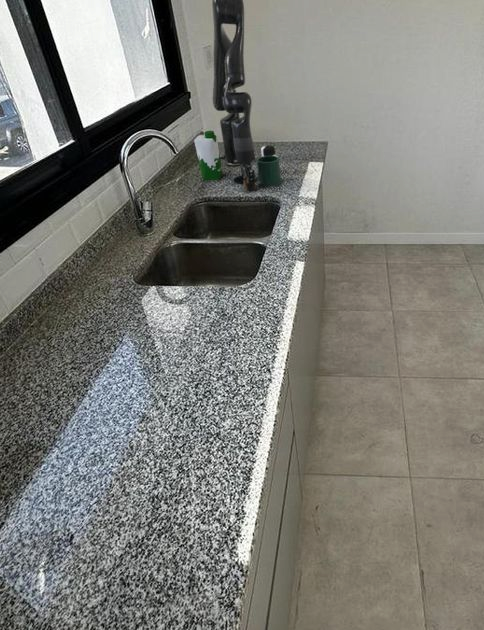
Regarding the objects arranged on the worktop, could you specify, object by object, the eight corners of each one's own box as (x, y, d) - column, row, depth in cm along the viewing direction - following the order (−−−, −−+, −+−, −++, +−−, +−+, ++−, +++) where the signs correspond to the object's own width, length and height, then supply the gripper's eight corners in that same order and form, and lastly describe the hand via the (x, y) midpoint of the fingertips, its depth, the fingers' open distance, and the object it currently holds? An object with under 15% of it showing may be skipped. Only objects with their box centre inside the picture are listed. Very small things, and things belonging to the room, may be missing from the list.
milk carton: (220, 181, 193) (211, 134, 181) (200, 182, 194) (190, 135, 182) (225, 175, 200) (217, 129, 188) (205, 175, 201) (196, 129, 189)
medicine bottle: (279, 171, 202) (277, 144, 194) (276, 176, 196) (274, 149, 189) (264, 171, 202) (261, 144, 195) (261, 176, 197) (257, 149, 189)
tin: (257, 182, 191) (254, 157, 185) (277, 178, 194) (274, 154, 188) (263, 189, 184) (260, 164, 178) (284, 185, 187) (281, 160, 181)
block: (244, 189, 185) (242, 180, 182) (253, 187, 186) (252, 178, 184) (246, 192, 182) (245, 183, 179) (256, 190, 183) (254, 181, 181)
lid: (231, 180, 194) (229, 166, 191) (253, 176, 198) (251, 162, 194) (237, 187, 187) (234, 172, 183) (259, 183, 190) (257, 168, 186)
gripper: (258, 151, 169) (263, 193, 180) (248, 142, 180) (253, 182, 190) (239, 154, 167) (246, 197, 177) (230, 144, 178) (237, 185, 188)
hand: (250, 189), depth 184 cm, fingers closed on block, 4 cm apart
